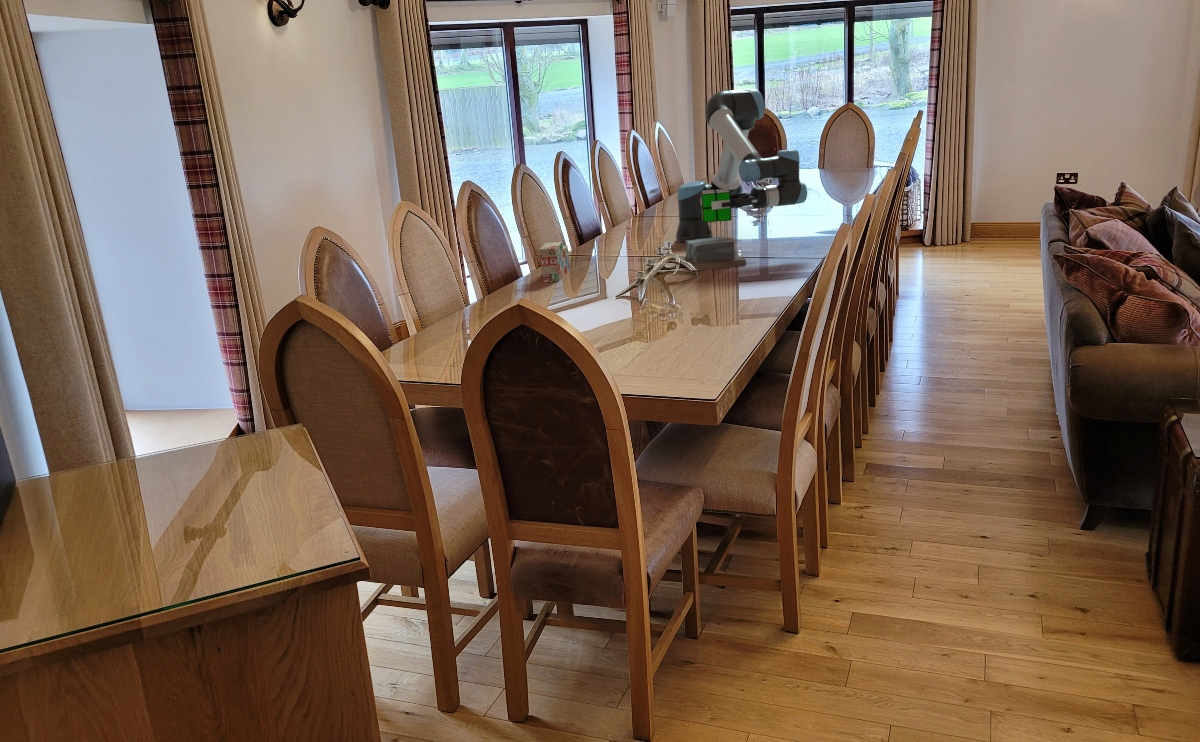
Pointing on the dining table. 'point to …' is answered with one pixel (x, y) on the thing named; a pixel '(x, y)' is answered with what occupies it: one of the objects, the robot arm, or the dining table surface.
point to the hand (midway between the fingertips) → (706, 203)
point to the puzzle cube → (715, 214)
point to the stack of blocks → (554, 261)
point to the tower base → (712, 253)
